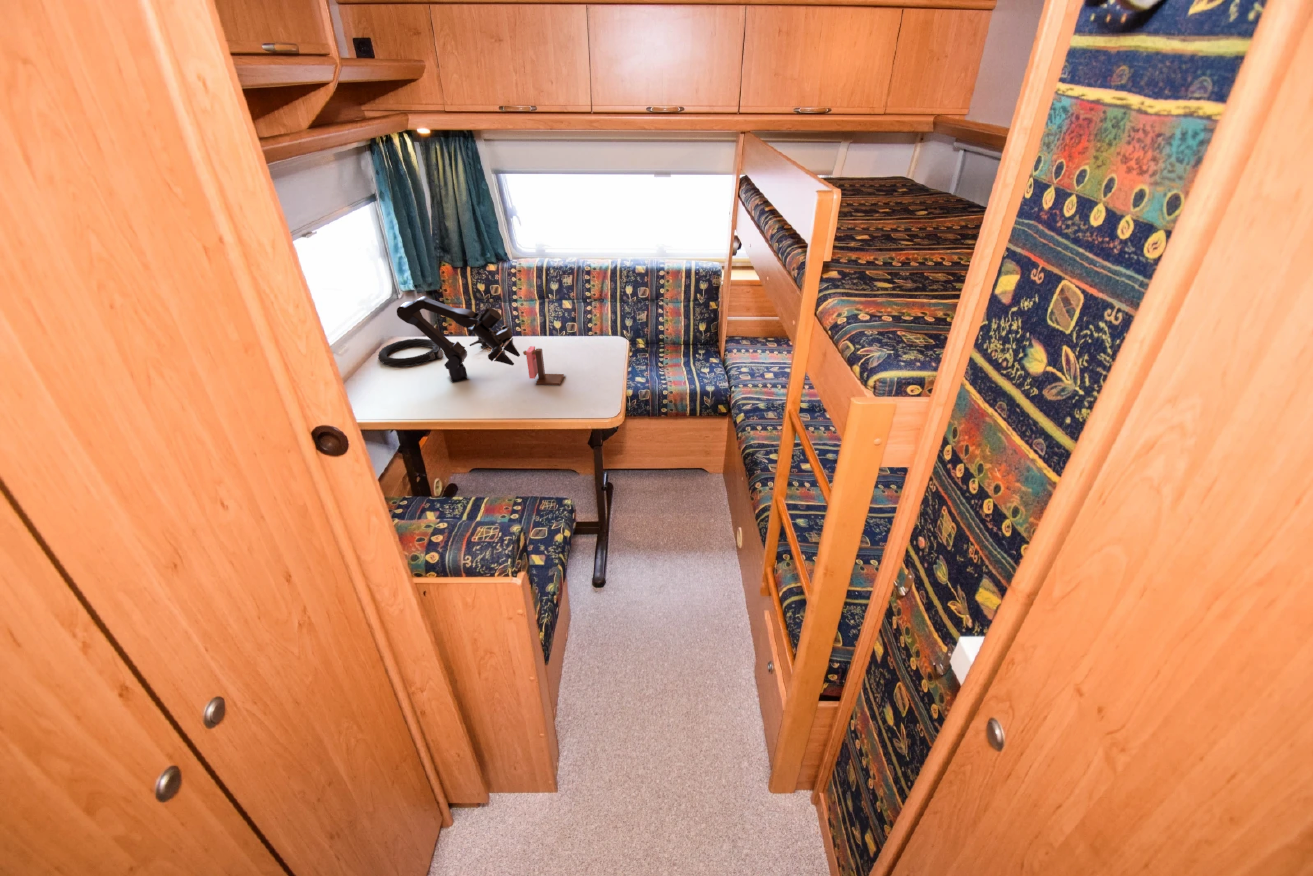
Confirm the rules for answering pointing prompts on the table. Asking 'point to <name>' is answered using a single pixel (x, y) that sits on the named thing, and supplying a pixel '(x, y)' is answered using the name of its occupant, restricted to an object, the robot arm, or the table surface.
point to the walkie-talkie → (480, 343)
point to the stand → (542, 377)
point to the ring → (411, 360)
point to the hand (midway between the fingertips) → (516, 360)
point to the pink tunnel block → (531, 362)
